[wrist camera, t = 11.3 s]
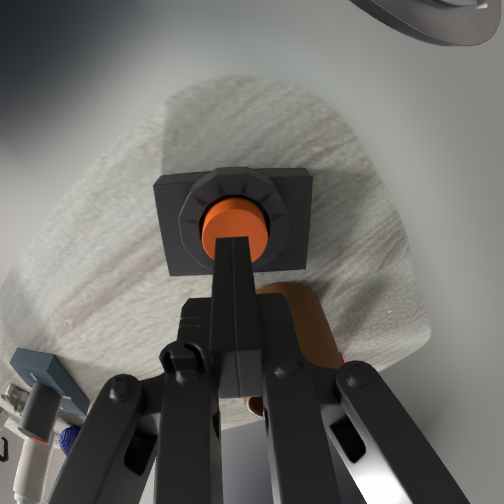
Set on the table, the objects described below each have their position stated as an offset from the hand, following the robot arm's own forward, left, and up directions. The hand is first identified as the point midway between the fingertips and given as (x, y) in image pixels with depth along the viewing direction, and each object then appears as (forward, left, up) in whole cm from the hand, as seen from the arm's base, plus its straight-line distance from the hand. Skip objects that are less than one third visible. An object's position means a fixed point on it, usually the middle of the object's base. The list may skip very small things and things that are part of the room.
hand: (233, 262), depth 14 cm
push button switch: (+1, 0, -8) cm, 8 cm away
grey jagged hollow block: (+36, -46, -8) cm, 59 cm away
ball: (+46, -36, -8) cm, 59 cm away
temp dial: (+24, -29, -4) cm, 38 cm away
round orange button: (0, 0, -4) cm, 4 cm away
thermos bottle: (+54, -54, -8) cm, 77 cm away
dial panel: (+24, -29, -8) cm, 38 cm away
